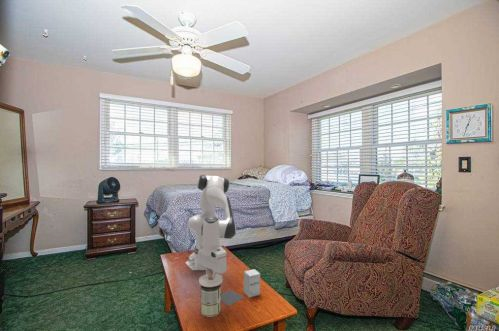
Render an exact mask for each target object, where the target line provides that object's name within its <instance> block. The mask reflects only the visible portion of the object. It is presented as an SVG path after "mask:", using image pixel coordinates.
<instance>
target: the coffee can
mask: <svg viewBox="0 0 499 331" xmlns="http://www.w3.org/2000/svg"><path fill="white" fill-rule="evenodd" d="M221 289H222V283H221V284H220V285H218V286H214V287H204V286H202V285H200V314H201V315H202V316H203V317H207V318H209V317H210V318H211V317H216V316H218V315H219V314H220V313H221V310H222V309H221V308H222V306H221V304H222V303H221V294H222V290H221Z"/></svg>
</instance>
